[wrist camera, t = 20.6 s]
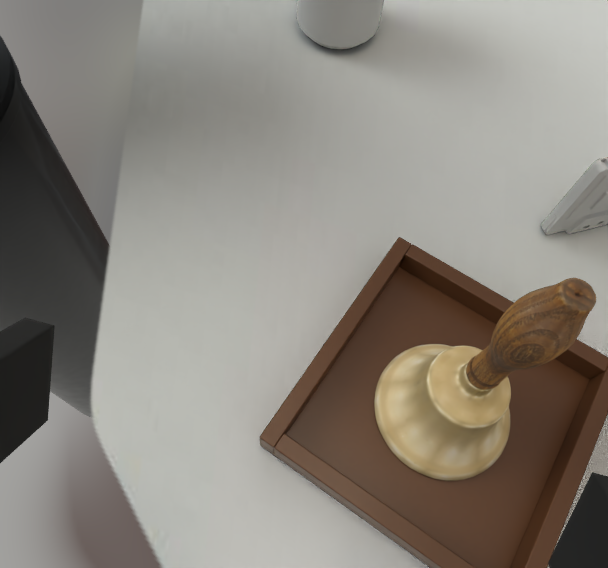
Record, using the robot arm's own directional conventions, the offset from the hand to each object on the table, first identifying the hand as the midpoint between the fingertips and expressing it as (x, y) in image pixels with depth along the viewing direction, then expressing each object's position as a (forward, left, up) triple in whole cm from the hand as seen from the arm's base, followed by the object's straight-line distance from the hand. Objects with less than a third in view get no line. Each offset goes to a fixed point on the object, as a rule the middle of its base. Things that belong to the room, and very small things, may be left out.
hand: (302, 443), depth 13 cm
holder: (+5, +10, -19) cm, 22 cm away
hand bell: (+5, +10, -19) cm, 22 cm away
